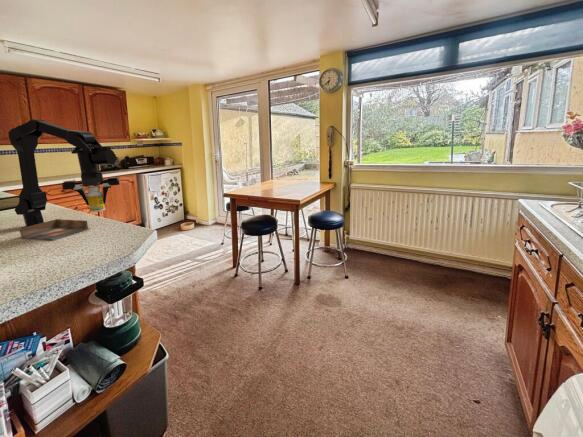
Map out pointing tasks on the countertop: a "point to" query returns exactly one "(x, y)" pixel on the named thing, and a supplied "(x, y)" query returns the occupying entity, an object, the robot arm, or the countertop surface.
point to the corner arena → (53, 229)
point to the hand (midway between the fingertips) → (96, 204)
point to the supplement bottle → (95, 199)
